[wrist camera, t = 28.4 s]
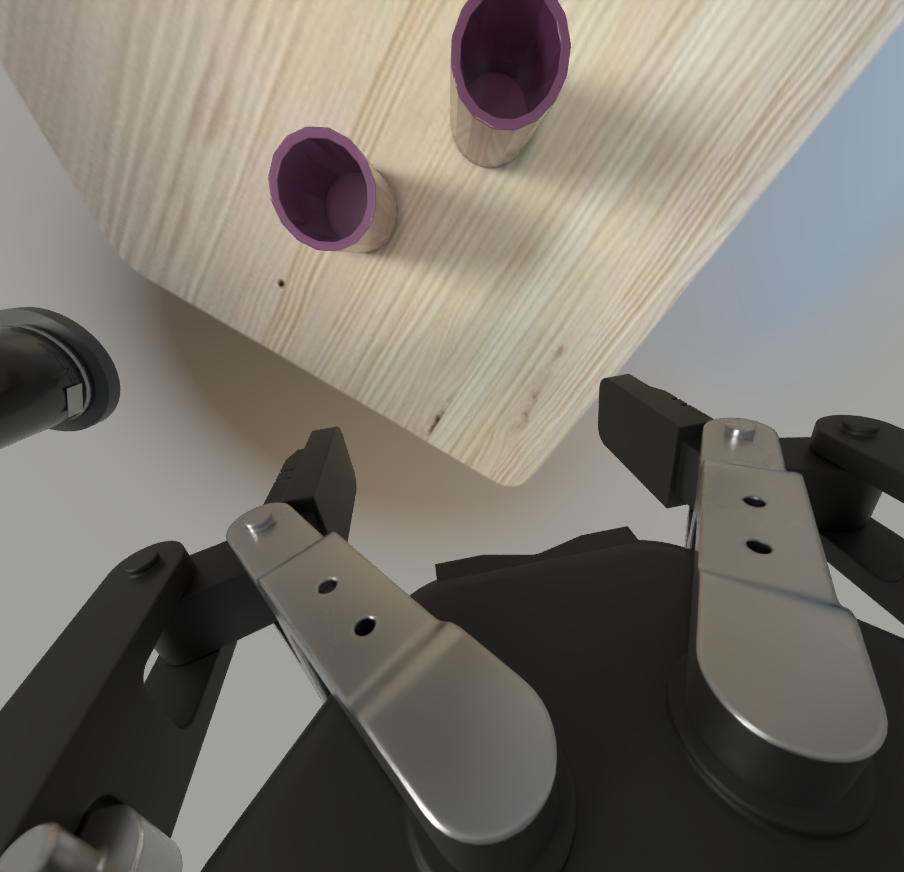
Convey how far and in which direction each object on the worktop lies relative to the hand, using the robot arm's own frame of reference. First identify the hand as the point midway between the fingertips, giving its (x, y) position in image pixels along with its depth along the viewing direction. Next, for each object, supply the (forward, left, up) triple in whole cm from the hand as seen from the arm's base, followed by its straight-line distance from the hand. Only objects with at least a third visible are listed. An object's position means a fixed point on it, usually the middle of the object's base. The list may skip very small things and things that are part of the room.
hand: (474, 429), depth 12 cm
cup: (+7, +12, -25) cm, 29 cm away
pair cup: (-5, +10, -25) cm, 27 cm away
